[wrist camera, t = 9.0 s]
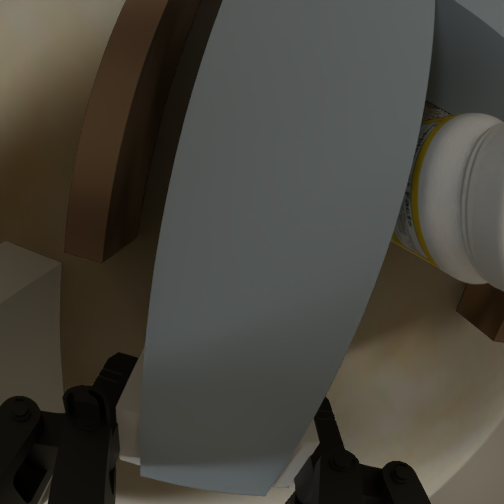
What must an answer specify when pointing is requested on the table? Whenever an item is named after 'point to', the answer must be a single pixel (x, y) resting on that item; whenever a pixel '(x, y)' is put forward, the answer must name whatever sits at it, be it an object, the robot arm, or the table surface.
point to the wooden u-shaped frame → (144, 136)
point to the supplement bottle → (457, 198)
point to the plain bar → (30, 328)
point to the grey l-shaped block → (290, 215)
